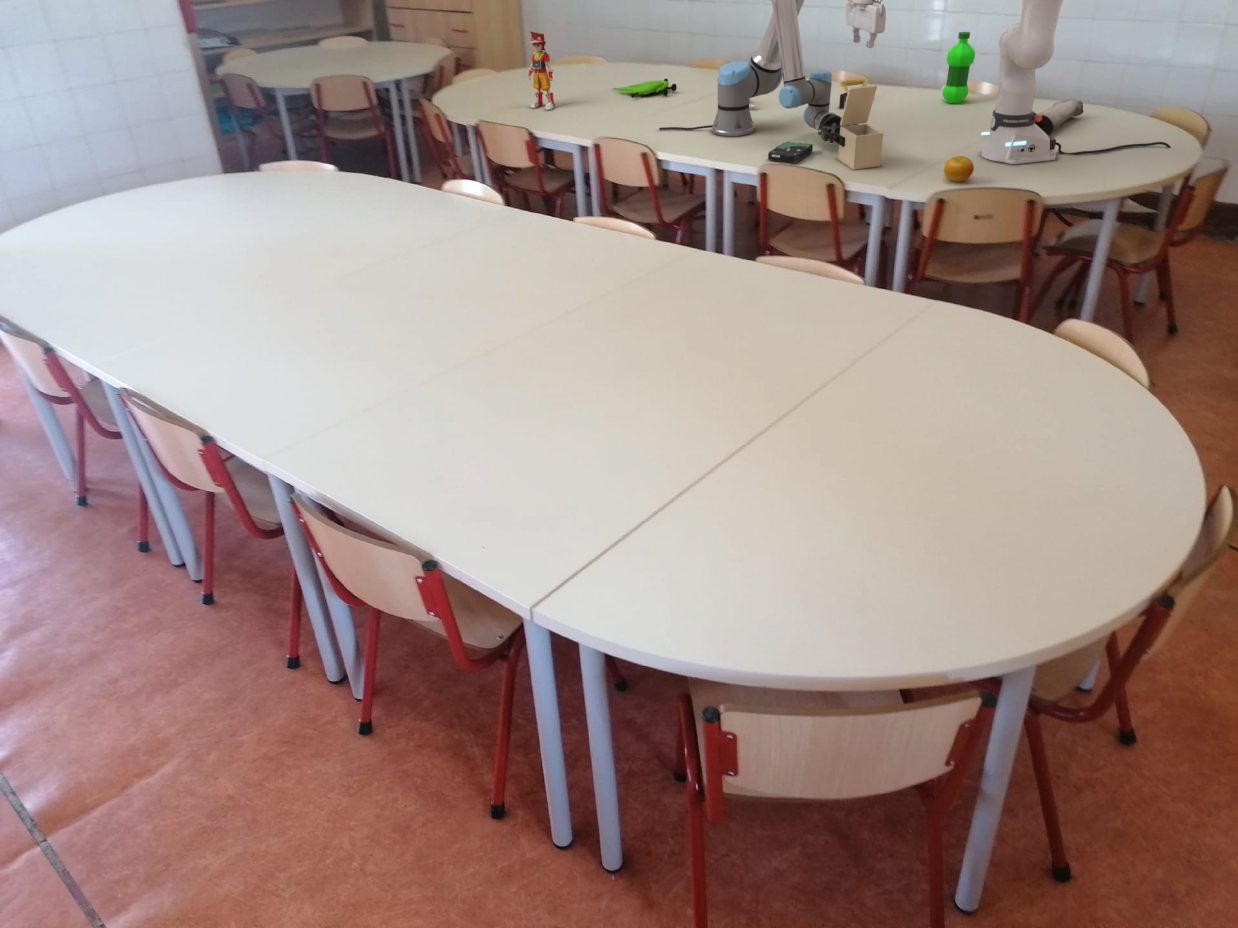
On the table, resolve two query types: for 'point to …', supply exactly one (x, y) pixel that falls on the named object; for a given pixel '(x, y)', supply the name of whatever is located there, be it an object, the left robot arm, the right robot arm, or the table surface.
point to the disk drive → (790, 152)
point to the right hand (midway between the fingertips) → (863, 45)
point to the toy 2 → (648, 88)
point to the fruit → (958, 168)
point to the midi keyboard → (843, 100)
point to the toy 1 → (541, 71)
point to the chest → (861, 146)
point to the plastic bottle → (958, 69)
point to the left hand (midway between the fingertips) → (858, 140)
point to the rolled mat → (1059, 114)
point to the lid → (857, 102)
